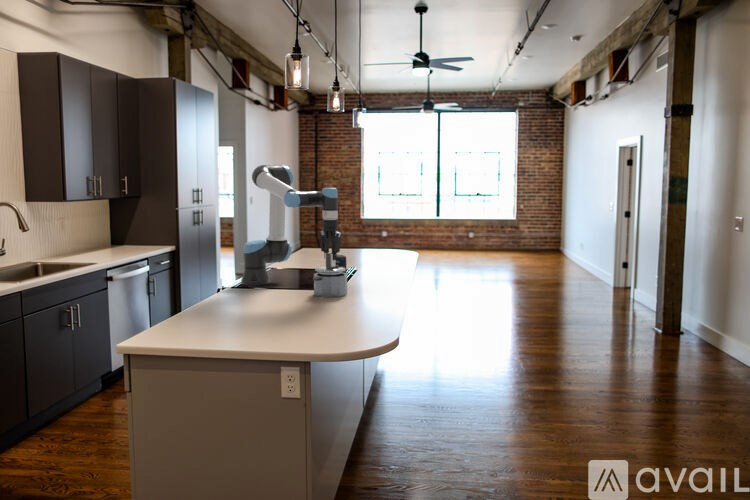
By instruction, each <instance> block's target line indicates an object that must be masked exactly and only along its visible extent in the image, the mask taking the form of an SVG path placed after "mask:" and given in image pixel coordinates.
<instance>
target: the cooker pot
mask: <svg viewBox="0 0 750 500" xmlns="http://www.w3.org/2000/svg"><path fill="white" fill-rule="evenodd" d="M312 281H313V295H315V296H316V297H321V298H338V297H344V296H346V295H348V272H347V273H342V275H339V276H321V275H319V272H316V273H314V274H313V278H312Z"/></svg>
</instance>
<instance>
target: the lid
mask: <svg viewBox="0 0 750 500" xmlns="http://www.w3.org/2000/svg"><path fill="white" fill-rule="evenodd" d="M331 253H332V252H328V253H326V266H322V267H321V266H320V267H316V268H315V270H314V271H315V272H316V273H319V275H321V276H339V275H342V272H343V271H345V268H341V267H338V265H336V266H334V267H331Z"/></svg>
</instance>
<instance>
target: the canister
mask: <svg viewBox="0 0 750 500" xmlns="http://www.w3.org/2000/svg"><path fill="white" fill-rule="evenodd" d="M336 265H338V267H341V268H345V271H343V272H342V273H347V274H348V272H347V271H348V270H347V256H346V255H343V254H338V253H336Z"/></svg>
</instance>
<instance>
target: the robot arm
mask: <svg viewBox="0 0 750 500" xmlns="http://www.w3.org/2000/svg"><path fill="white" fill-rule="evenodd" d="M251 180H252V182H253V184H254V185H255V186H256V187H257V188H259V189H262V190H266V191H268V192H269V212H268V213H269V216H268V217H269V218H268V219H269V221H268V222H269V223H268V224H269V226H268V236H267V237H266V238H265V240H263V239H258V240H251V241H248V242H247V241H246V242H245V243H244V245H243V266H244V270H243V274H242V278H241V283H240V284H241V285H242V286H249V287H250V286H252V287H255V286H259V287H260V286H266V285H268V284H270V277H269V275H268V271H267V264H275V263H282V262H286V261H287V260H289V258H291V254H292V246H291V243H290V242H289V241H288V238H287V236H286V235H285V233H286V231H285V230H286V229H285V228H286V207H287V208H292V209H294V208H307V207H308V208H310V207H311V208H313V207H321V208H322V209H321V211H322V228H323V229H322V231H319V232H318V234H319V237H320V239H319V240H320V241H319V242H320V252H323V253H324V257H323V258H324V260H325V261H324V263H325V264H324V265H325V266H324V267H326V253H331V267H334V266H336V255H337V254H338V253H340V251H341V237H342V232H339V231H338V229H337V228H338V226H339V221H338V216H339V215H338V214H339V213H338V208H339V206H338V204H339V202H338V200H339V199H338V198H339V196H338V189H337V188H336V187H323V188H322V190H321V191H319V190H318V191H317V190H314V191H313V190H312V191H298V190H297V189H295V188H293V187H291V186H292V184H293V183H294V175H293V172H292V170H291V169H290V167H289V166H287V165H282V164H261V165H258V166H257V167H256V168H254V170H253V172H252V174H251ZM330 248H331V251H330Z"/></svg>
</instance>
